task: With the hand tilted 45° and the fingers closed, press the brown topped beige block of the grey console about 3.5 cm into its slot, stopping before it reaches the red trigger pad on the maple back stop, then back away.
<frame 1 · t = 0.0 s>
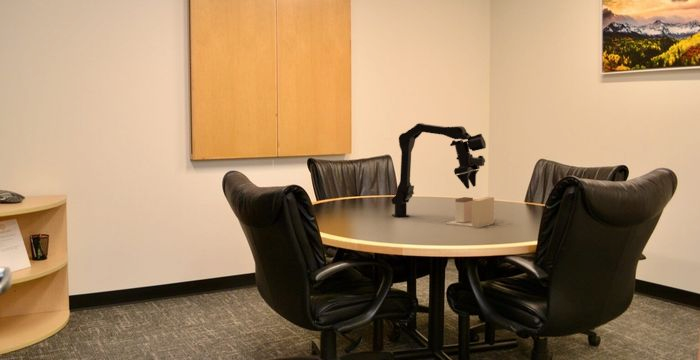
hand: (471, 187, 284), 15 cm above the table, tool pointing down, fingers open, 9 cm apart
brown topped beige block: (464, 209, 280), point 6 cm above the table, slide at 0.0 cm
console: (463, 222, 280), on the table
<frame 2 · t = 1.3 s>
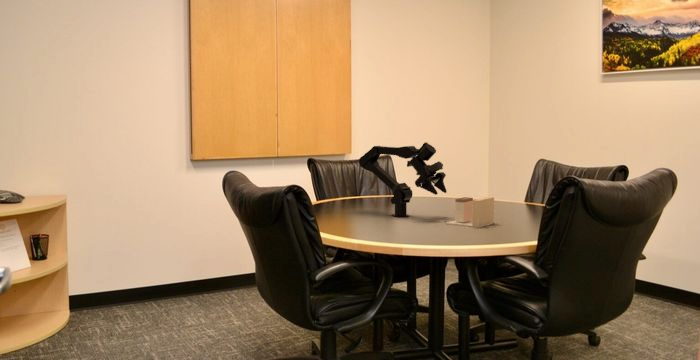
hand: (441, 193, 286), 12 cm above the table, tool tilted 45°, fingers open, 8 cm apart
nothing on the table moved.
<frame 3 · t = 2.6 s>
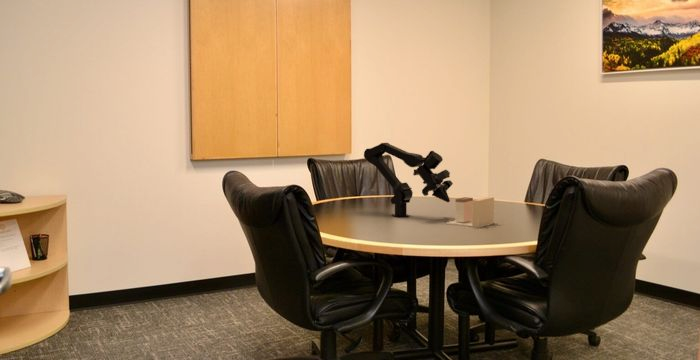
hand: (448, 201, 284), 9 cm above the table, tool tilted 45°, fingers closed
nothing on the table moved.
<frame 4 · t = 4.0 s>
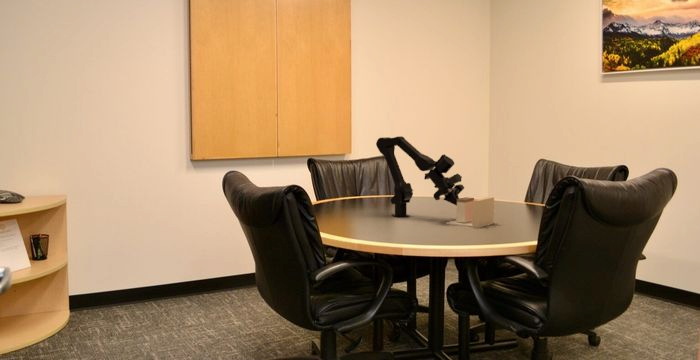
hand: (460, 206, 281), 7 cm above the table, tool tilted 45°, fingers closed, pressing on brown topped beige block
brown topped beige block: (465, 209, 279), point 6 cm above the table, slide at 0.6 cm, touching gripper
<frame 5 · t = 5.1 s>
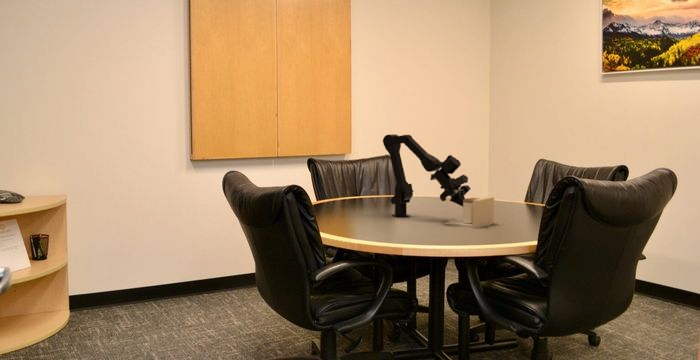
hand: (467, 207, 279), 7 cm above the table, tool tilted 45°, fingers closed, pressing on brown topped beige block
brown topped beige block: (471, 210, 277), point 6 cm above the table, slide at 3.8 cm, touching gripper
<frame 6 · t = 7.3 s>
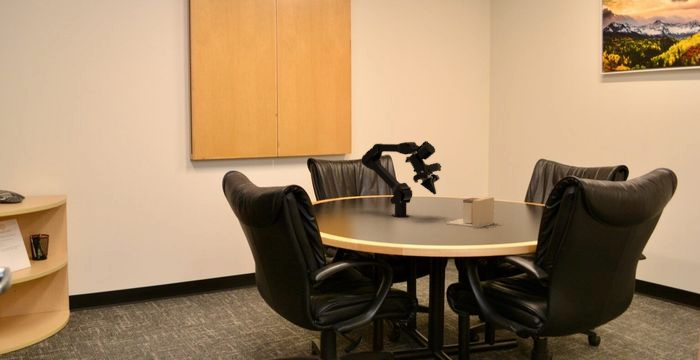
hand: (435, 193, 287), 12 cm above the table, tool tilted 35°, fingers closed
brown topped beige block: (471, 210, 277), point 6 cm above the table, slide at 3.8 cm
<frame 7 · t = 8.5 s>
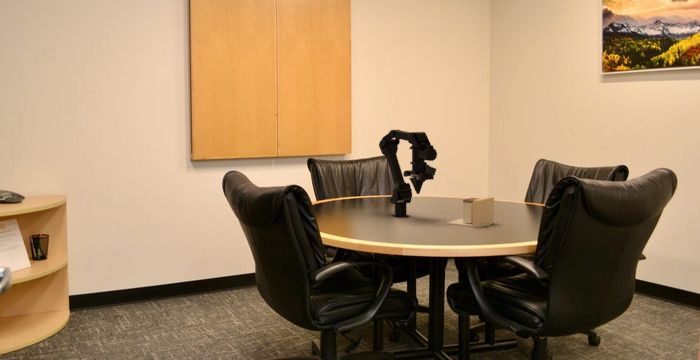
hand: (418, 193, 288), 12 cm above the table, tool pointing down, fingers closed
nothing on the table moved.
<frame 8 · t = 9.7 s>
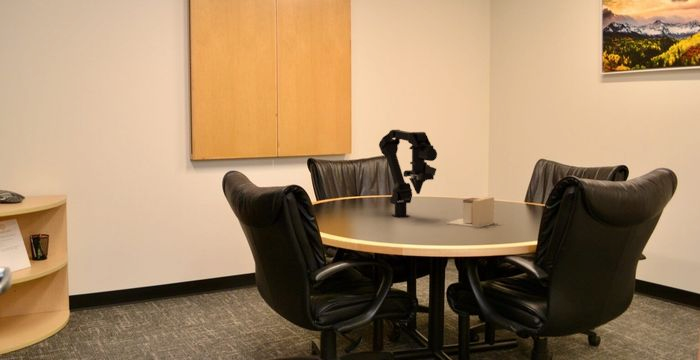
hand: (418, 193, 288), 12 cm above the table, tool pointing down, fingers closed
nothing on the table moved.
at the end: brown topped beige block slide at 3.8 cm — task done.
